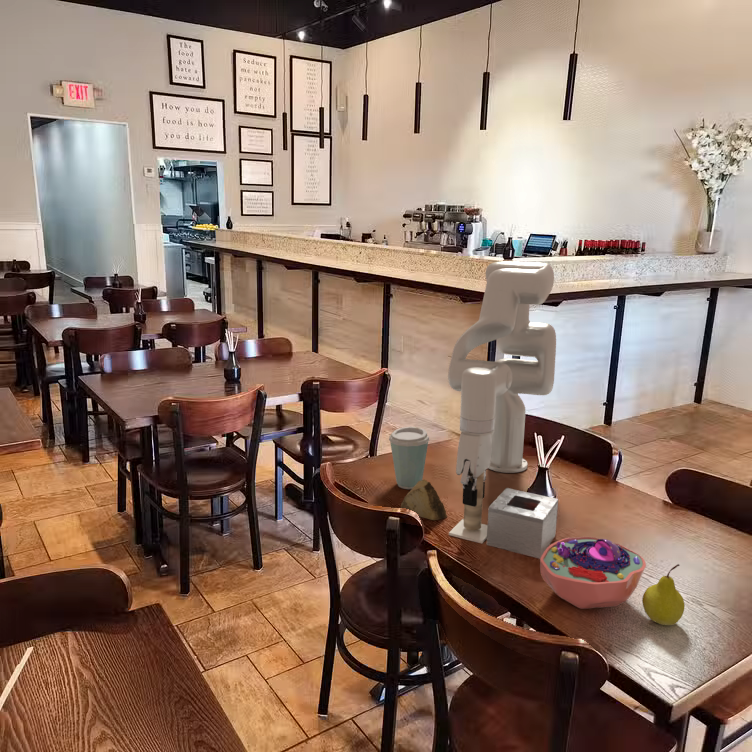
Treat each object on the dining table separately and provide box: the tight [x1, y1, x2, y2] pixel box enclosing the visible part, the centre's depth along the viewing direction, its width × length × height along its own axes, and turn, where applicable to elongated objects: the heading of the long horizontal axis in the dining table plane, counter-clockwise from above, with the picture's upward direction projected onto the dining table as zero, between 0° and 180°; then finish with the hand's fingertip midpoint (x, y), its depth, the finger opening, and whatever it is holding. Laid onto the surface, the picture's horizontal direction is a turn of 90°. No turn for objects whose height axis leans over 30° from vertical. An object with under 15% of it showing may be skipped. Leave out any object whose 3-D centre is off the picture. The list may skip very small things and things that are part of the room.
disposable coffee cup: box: [388, 426, 430, 490], centre depth 175 cm, size 11×11×15 cm
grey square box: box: [486, 487, 559, 560], centre depth 146 cm, size 12×12×9 cm
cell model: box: [539, 536, 647, 610], centre depth 124 cm, size 17×20×11 cm
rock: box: [400, 479, 448, 521], centre depth 160 cm, size 11×9×10 cm
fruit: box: [641, 563, 685, 626], centre depth 117 cm, size 7×7×12 cm
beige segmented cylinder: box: [463, 472, 485, 530], centre depth 149 cm, size 4×4×16 cm
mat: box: [448, 518, 488, 545], centre depth 151 cm, size 8×8×1 cm
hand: (473, 500), depth 149 cm, fingers closed on beige segmented cylinder, 4 cm apart
